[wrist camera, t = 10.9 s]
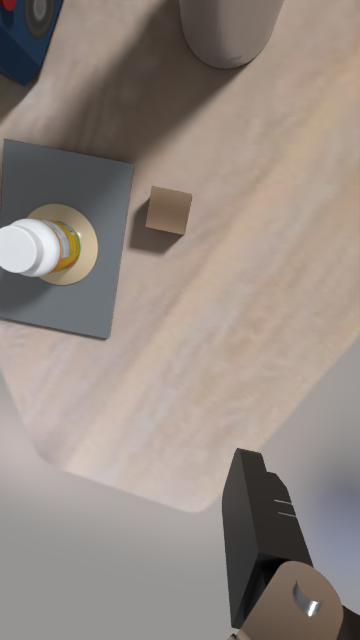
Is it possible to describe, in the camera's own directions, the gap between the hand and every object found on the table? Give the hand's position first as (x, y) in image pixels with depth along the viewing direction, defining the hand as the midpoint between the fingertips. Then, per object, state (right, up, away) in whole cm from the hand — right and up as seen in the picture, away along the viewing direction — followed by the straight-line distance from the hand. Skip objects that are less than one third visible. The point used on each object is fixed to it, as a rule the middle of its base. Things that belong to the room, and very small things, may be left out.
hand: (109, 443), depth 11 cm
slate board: (-12, +13, +28) cm, 33 cm away
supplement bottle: (-11, +12, +27) cm, 32 cm away
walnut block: (+1, +16, +27) cm, 31 cm away
